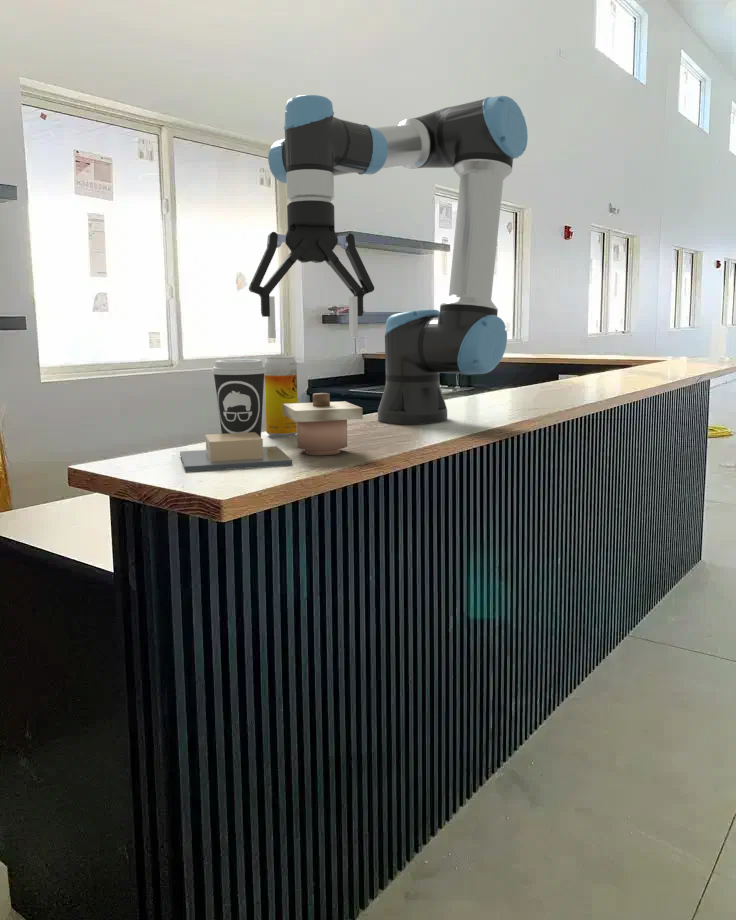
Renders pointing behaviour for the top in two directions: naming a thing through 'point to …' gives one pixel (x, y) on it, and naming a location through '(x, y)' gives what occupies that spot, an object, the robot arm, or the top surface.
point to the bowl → (322, 437)
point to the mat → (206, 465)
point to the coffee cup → (239, 394)
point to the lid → (322, 410)
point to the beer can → (280, 395)
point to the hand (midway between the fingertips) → (313, 337)
